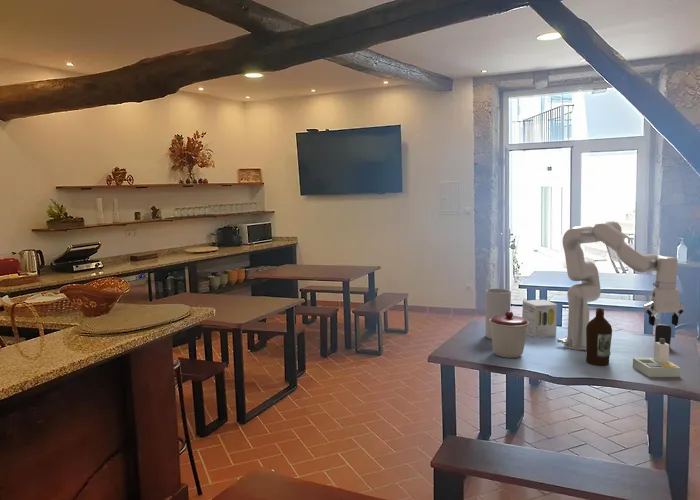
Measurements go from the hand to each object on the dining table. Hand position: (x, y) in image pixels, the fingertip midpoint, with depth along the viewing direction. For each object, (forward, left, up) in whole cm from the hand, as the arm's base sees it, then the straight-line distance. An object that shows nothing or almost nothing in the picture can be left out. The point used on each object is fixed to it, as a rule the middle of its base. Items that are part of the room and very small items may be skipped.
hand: (663, 324), depth 230 cm
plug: (0, 0, -20) cm, 20 cm away
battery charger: (+20, +34, -20) cm, 45 cm away
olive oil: (-23, +10, -20) cm, 32 cm away
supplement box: (-33, +58, -20) cm, 70 cm away
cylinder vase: (-57, +52, -20) cm, 80 cm away
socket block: (-3, -2, -20) cm, 20 cm away
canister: (-60, +22, -20) cm, 67 cm away
